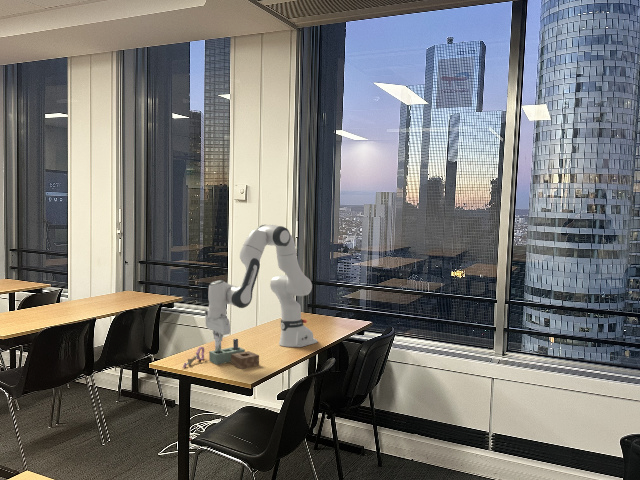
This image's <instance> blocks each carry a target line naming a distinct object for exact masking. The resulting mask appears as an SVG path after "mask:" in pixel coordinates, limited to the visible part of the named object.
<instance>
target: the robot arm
mask: <svg viewBox="0 0 640 480" xmlns="http://www.w3.org/2000/svg"><path fill="white" fill-rule="evenodd" d="M295 243H296V242H295V240H294V238H293V235H292V234H291V233H290V230H289V229H288V228H287V227H286V226H285V227H284V226H283V225H282V226H281V225H277V224H261V225H259V226H257V228H255V229H253V230H251V231H250V232H249V234H248V235H247V237H246V239H245V241H244V242H243V244H242V247H241V249H240V252H239V259H240V262H241V263H242V264H243V265H244V266H245V272H244V276H243V279H242V282H241V285H240V286H237V285H233V284H230V283H228V282H226V281H224V280H222V279H219V280H214V281H212V282H210V283H209V285H208V293H207V294H208V296H207V297H208V298H207V299H208V309H206V310H204V315H205V317H204V318H205V320H204V321H205V327H206V329H209V330H210V331H212V335H213V339H214V340H215V332H218V333H219V337H218V341H221V342H223V337H224V336H225V335H226V336H227V335H230V333H231V323H230V319H229V318H228V316H227V305H231V306H233V307H236V308H239V309H245V308H247V307H248V306H249V305H250V304H251V302H252V300H253V292H254V291H253V290H254V287H255V284H256V281H257V278H258V275H259V272H260V267H261V264H260V262H261V258H262V256H263V253H264V251H265V248H266V247H267V246H274V247H275V250H276V253H275V254H276V259H277V266H278V269H279V270H281V271H282V272H283V273H284V275H283V274H282V275H281V274H280V275H275V276H273V277H272V278H271V280H270V283H269V287H270V289H271V292H273V293H274V294H275V296H276V297H277V299H278V302H279V304H280V311H281V312H280V313H281V314H280V315H281V319H280V337H279V342H278V345H279V346H281V347H286V348H288V347H289V348H303V347H306V346H309V345H313V344H317V343H318V339H316V338H314V333H313V331H312V330H311V329H310V328H308V327H307V326H306V325H304V324H307V323H308V320H307V319H305V318H304V319H302V308H301V307H302V306H301V304H300V303H299V302H298V301H297V300H296V299H295V298H294V296H296V297H305V296H308V295H309V294H311V292H312V288H313V283H312V281H311V279H310V278H309V277H307V276H306V275H305V274H304V273H303V271H302V269H301V267H300V265H299V260H298V256H297V255H298V254H297V247H296V244H295Z"/></svg>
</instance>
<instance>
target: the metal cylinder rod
mask: <svg viewBox="0 0 640 480" xmlns="http://www.w3.org/2000/svg"><path fill="white" fill-rule="evenodd" d="M218 337H219V333H218V332H215V339H214V351H215V353H216V354H217V353H221V349H222V341H218Z"/></svg>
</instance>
